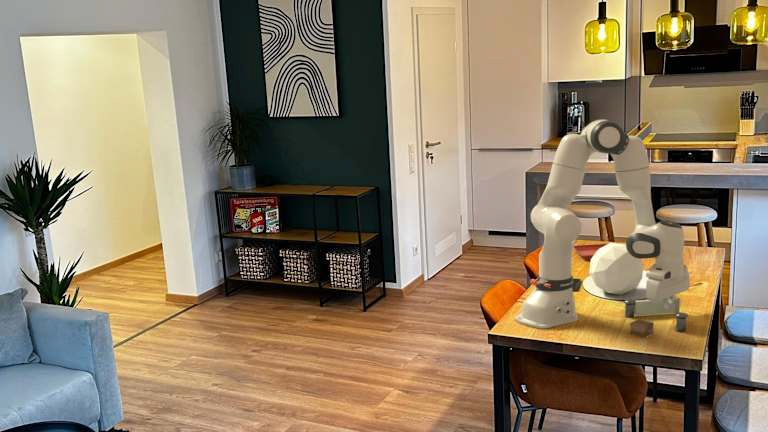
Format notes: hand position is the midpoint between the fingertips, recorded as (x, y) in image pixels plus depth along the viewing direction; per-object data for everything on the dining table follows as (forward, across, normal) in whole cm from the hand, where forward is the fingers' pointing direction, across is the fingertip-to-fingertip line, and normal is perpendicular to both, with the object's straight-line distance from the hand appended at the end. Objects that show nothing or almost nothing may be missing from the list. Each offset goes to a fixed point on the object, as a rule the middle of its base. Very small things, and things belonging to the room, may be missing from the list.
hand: (667, 307), depth 239 cm
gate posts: (+3, +9, +1) cm, 9 cm away
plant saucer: (+3, -48, -67) cm, 82 cm away
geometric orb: (+3, -9, -28) cm, 30 cm away
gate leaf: (+3, +1, -3) cm, 4 cm away
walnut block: (+3, +20, +4) cm, 21 cm away
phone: (+4, -4, -46) cm, 46 cm away
